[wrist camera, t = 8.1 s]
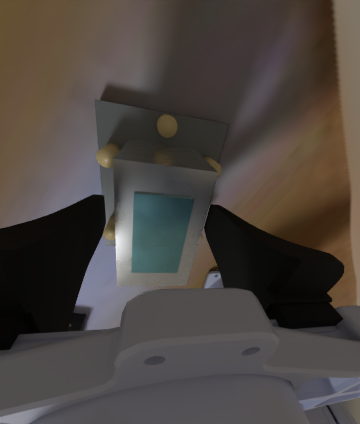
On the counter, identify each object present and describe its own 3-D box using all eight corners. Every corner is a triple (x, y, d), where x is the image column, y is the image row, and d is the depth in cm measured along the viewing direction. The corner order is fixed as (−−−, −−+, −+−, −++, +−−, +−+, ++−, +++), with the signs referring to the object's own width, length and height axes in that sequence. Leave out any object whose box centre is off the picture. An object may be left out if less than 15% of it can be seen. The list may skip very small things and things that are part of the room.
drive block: (131, 137, 12) (112, 158, 7) (192, 147, 13) (219, 173, 7) (129, 229, 16) (116, 287, 11) (176, 231, 17) (186, 286, 11)
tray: (99, 100, 11) (82, 97, 9) (223, 123, 13) (240, 126, 10) (108, 238, 17) (100, 261, 15) (193, 242, 19) (199, 262, 16)
